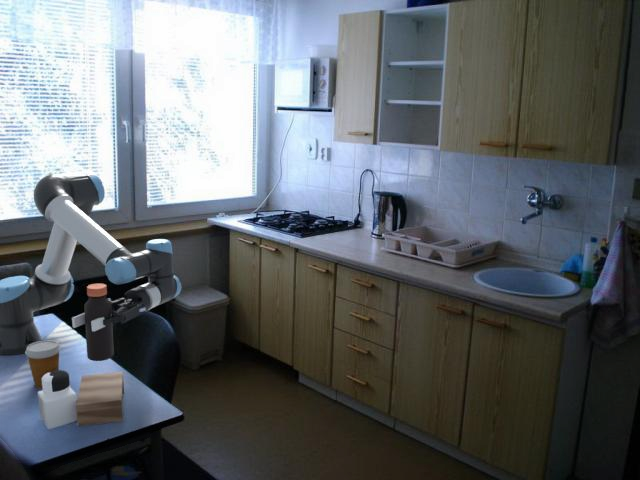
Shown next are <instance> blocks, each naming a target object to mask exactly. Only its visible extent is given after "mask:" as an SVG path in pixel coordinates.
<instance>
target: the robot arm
mask: <svg viewBox="0 0 640 480" xmlns="http://www.w3.org/2000/svg"><path fill="white" fill-rule="evenodd" d="M104 186H105V185H103V181H102V180H101V178H100V177H99V175H98V174H96V172H94V171H91V170H77V171H73V172H72V171H70V172H62V173H51V174H47V175H46V176H43V177H42V178H41V179H40V180H39V181H38V182H37V183H36V185H35V187H34V190H33V201H34V204H35V207H36V209H37V210H38V212H39V213H40V214H41V216H43V217H44V218H45V219H46V220H47V221H49V222H53V225H52V228H51V231H50V234H49V235H50V236H49V238H48V243H47V246H46V249H45V252H44V256H43V259H42V263H41V264H38V265H37V266H36V267H35V269H34V273H33V276H32V277H28V276H26V275H15V276H9V277H5V278H3V279H0V355H2V356H3V355H4V356H7V355H8V356H11V355H20V354H24V353H25V351H26V349H27V346H28V345H30V344H32V343H34V342H38V341H42V336H41V334H40V332H39V330H38V327H37V326H36V323H35V320H34V319H35V318H34V313H35V312H37V311H41V310H44V309H49V308H50V307H54V306H57V305H58V306H59V305H61V304H63V303H64V302H67V301H68V300H69V299H70V298H71V297H72V296H73V293H74V290H75V285H74V284H73V283H74V279H73V276H72V275H71V272H70V271H69V268H70V265H71V263H72V258H73V256H74V252H75V249H76V246H77V242H78V243H79V244H80V245H82V247H84V248H85V249H86V250H87V252H90V254H92V255H93V256H94V257H95V258H96V259H97V260H98V261H99V262H101V263H102V265H104V267H105V268H104V271H105V272H104V273H105V275H106V276H107V279H108V280H109V281H110V283H113V284H115V285H123V284H127V283H128V284H129V283H131V282H133V281H136V280H138V279H142V278H144V277H147V278H148V281H147V282H146V283H144V284H141V285H138V286H136V287H133V288H131V289H130V290H127V291H126V292H125V293H124V295H123V296H122V297H121V298H118V299H115V300H112V299H111V298H110V297H109V298H107V299H108V300H109V301H110V302H111V308H112V316H111V317H110V318H107V319H104V317H102V318H97V319H95V320H93V321H91V326H92V331H97V330H99V329H101V328H103V327H105V325H109V324H112V325H113V324H117V323H119V324H125V323H127V322H129V321H131V320H132V319H135V318H136V317H138V316H140V315H144V314H146V312H148V311H150V310H151V309H153V308H156V307H158V306H160V305H162V304H165V303H166V302H169V301H171V300H173V299H175V298H176V297H177V296H179V295H180V293H181V291H182V283H181V281H180V279H179V277H177V275H174V262H173V260H174V259H173V258H174V256H173V254H174V253H173V246H172V241H170V240H169V239H165V238H156V239H151V240H148V241H147V242H146V244H145V249H144V250H140V251H137V252H131V251H130V250H128V249H127V248H126V247H125V246H123V245H122V244H121V243H120V242H119V241H118V240H116V238H114V237H113V236H112V235H111V234H109V233H108V231H106V230H105V229H104V228H102V226H100V225H99V224H98V223H97V222H95V220H94V219H92V218H91V217H90V216H91V214H92V212H93V208H94V206H98V205H100V204H101V203H103V201H104V199H105V193H106V192H105V187H104ZM71 323H72V328H73V329H75V328H78V327H80V326H83V325H85V312H82V313H80V314H78V315H76V316H72V317H71Z"/></svg>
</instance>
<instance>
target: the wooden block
mask: <svg viewBox="0 0 640 480" xmlns="http://www.w3.org/2000/svg"><path fill="white" fill-rule="evenodd" d="M124 394H125V384H124V371H114V372H106V373H95V374H94V373H93V374H89V375H88V374H86V375H81V379H80V384H79V390H78V395H77V404H76V408H77V419H78V421H77V427H78V428H79V427H85V426H94V425H102V424H110V423H116V422H123V421H124V413H123V395H124Z"/></svg>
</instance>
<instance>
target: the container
mask: <svg viewBox="0 0 640 480" xmlns="http://www.w3.org/2000/svg"><path fill="white" fill-rule="evenodd" d="M41 389H42V390H39V391H37V399H38V411H39V418H40V420H41V421H42V423H43V424H44V425H45V427H46V428H47V429H48V430H51V429H52V430H53V429H54V428H58V427H61V426H65V425H68V424H72V423H74V422H78V419H77V408H76V404H77V399H78V395H77V393H76V392H75V391H74V390H73V389H72V388H71V384H70V374H69V372H67V371H66V370H59V369H58V370H57V371H51V372H49V373H47V374H45V375H44V376H43V377H42V388H41Z"/></svg>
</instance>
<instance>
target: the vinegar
mask: <svg viewBox="0 0 640 480" xmlns="http://www.w3.org/2000/svg"><path fill="white" fill-rule="evenodd" d="M107 287H108V286H107V284H105V283H91V284H88V286H86V295H87V297H88V300H87V301H85V303H84V306H83V307H84V313H85V324H84V325H85V340H86V341H85V342H86V356H87V359H88V360H89V361H93V362H103V361H107V360H109V359H111V358H112V357H114V354H115V351H114V334H113V333H114V331H113V323H112V324H109V325H105V327H103V328H101V329H99V330H97V331H92V326H91V321H93V320H95V319H97V318H102V317H104V319H107V318H110V317H111V316H112V308H111V302H110V301H109V300H108V298H107V295H108V288H107Z"/></svg>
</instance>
